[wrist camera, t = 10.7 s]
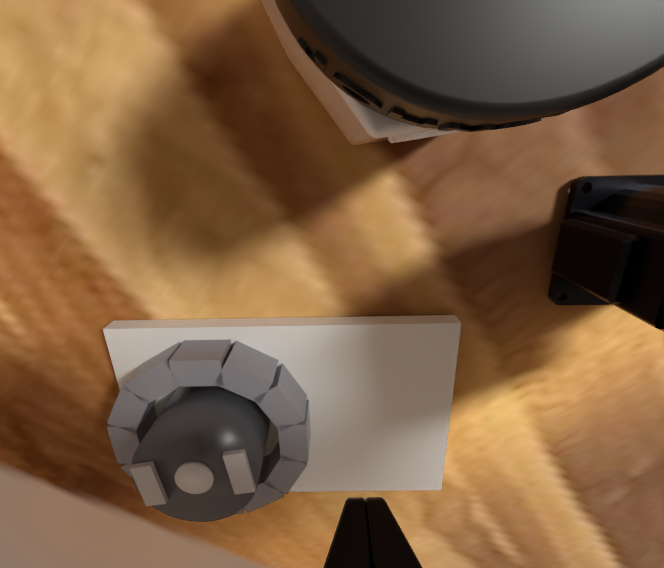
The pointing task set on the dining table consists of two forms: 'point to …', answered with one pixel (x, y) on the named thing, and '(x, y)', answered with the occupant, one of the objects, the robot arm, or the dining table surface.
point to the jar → (464, 59)
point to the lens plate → (344, 386)
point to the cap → (202, 454)
